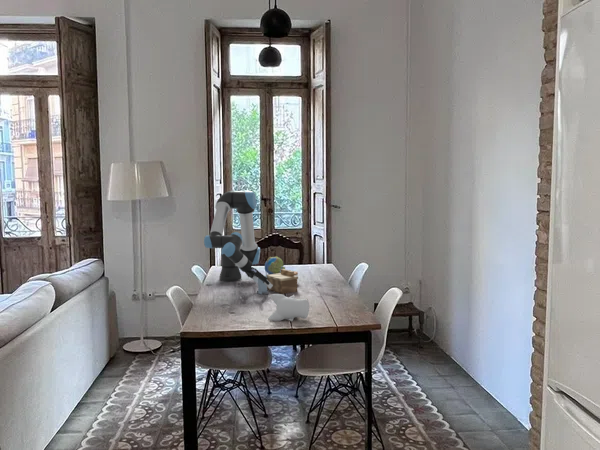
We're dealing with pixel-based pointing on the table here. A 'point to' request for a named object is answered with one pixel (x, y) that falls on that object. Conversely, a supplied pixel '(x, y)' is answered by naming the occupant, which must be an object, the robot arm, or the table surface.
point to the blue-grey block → (261, 286)
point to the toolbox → (283, 286)
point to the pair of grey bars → (264, 293)
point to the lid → (283, 275)
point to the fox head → (289, 308)
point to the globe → (274, 265)
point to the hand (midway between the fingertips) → (265, 285)
